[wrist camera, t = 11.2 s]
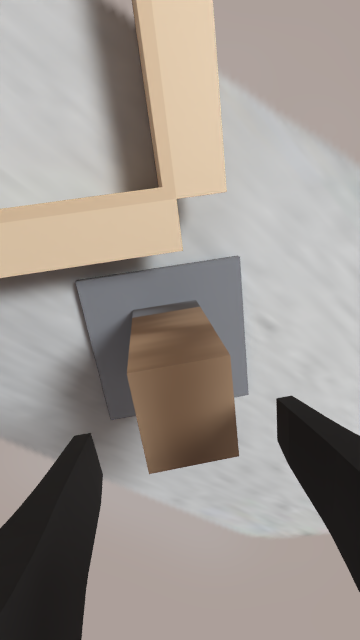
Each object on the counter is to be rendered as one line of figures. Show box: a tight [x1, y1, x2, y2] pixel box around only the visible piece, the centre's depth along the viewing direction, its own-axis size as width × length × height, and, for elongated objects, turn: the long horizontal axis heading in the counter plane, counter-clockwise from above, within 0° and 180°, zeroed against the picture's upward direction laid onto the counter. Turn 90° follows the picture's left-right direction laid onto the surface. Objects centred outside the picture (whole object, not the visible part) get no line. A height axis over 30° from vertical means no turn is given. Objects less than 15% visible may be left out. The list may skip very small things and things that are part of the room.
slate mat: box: [76, 256, 248, 420], centre depth 20 cm, size 10×10×1 cm
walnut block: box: [127, 300, 239, 474], centre depth 16 cm, size 4×5×8 cm
